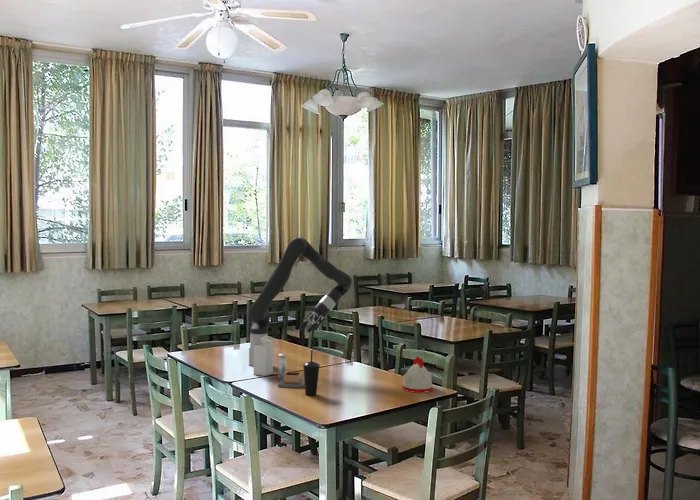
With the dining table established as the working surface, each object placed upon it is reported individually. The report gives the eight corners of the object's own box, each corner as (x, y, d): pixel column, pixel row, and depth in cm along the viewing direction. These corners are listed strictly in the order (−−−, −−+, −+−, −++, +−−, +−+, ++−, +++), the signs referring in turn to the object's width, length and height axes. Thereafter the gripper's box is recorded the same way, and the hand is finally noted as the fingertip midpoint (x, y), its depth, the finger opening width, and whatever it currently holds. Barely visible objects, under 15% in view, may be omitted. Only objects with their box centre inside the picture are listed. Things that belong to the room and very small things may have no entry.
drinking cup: (312, 397, 275) (313, 352, 275) (298, 395, 279) (299, 350, 279) (322, 394, 282) (323, 350, 281) (309, 391, 286) (309, 348, 285)
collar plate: (277, 386, 293) (278, 376, 292) (282, 380, 305) (282, 370, 304) (303, 387, 292) (303, 377, 292) (306, 381, 304) (307, 371, 304)
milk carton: (253, 374, 315) (254, 337, 315) (260, 371, 322) (261, 335, 321) (265, 376, 313) (266, 338, 312) (272, 373, 319) (273, 336, 319)
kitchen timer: (412, 394, 285) (413, 361, 285) (397, 386, 298) (398, 355, 297) (438, 391, 291) (438, 359, 291) (422, 384, 304) (423, 353, 303)
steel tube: (277, 379, 308) (277, 354, 307) (278, 377, 312) (279, 353, 311) (285, 379, 307) (286, 355, 307) (287, 377, 312) (287, 353, 311)
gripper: (313, 300, 325) (293, 323, 319) (326, 303, 312) (305, 327, 307) (322, 309, 328) (302, 333, 322) (335, 313, 315) (315, 337, 310)
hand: (304, 330), depth 315 cm, fingers open, 8 cm apart
